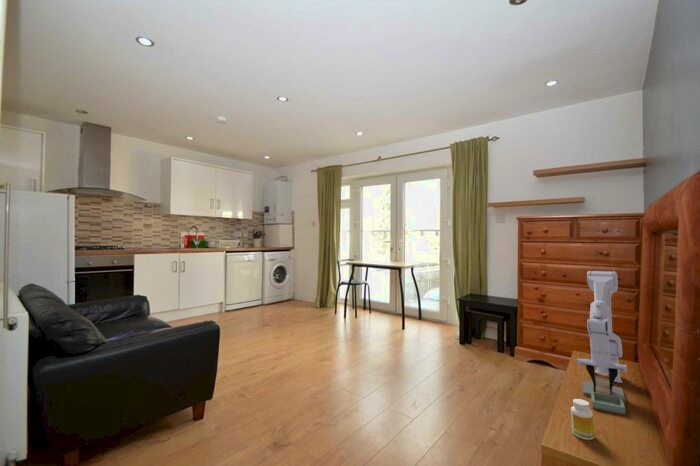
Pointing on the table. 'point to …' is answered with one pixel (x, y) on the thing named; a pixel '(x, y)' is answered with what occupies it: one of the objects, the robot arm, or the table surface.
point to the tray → (607, 403)
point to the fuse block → (602, 383)
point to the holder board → (590, 387)
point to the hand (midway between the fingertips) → (602, 387)
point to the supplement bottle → (582, 420)
